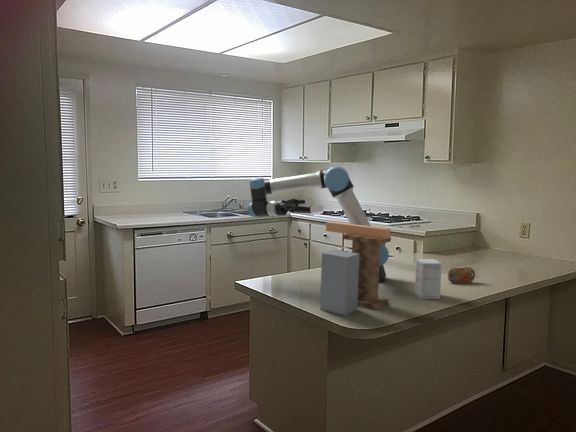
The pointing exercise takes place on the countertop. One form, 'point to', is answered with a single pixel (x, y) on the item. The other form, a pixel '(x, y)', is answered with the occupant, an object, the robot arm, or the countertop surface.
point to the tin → (461, 275)
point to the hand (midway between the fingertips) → (317, 205)
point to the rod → (358, 230)
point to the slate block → (339, 282)
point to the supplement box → (428, 278)
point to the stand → (368, 269)
